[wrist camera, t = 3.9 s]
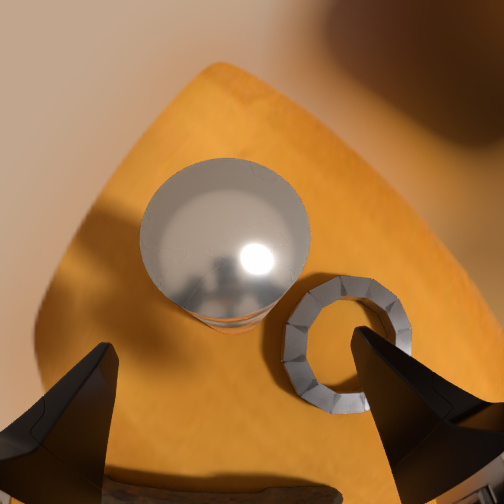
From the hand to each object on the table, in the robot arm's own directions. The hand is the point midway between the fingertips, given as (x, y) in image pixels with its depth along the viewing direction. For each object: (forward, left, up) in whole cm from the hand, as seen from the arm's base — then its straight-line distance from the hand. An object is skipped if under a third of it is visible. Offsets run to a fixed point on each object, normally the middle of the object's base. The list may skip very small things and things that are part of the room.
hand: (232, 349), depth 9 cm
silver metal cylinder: (+3, +2, -10) cm, 11 cm away
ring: (+5, -7, -10) cm, 13 cm away
